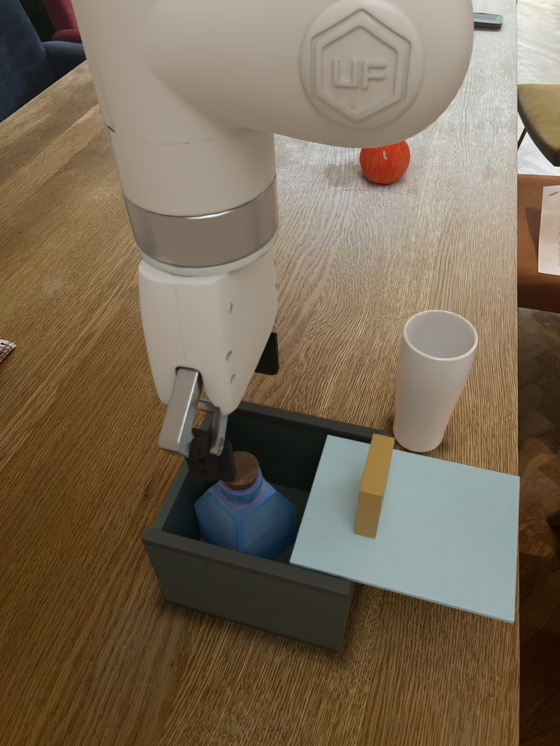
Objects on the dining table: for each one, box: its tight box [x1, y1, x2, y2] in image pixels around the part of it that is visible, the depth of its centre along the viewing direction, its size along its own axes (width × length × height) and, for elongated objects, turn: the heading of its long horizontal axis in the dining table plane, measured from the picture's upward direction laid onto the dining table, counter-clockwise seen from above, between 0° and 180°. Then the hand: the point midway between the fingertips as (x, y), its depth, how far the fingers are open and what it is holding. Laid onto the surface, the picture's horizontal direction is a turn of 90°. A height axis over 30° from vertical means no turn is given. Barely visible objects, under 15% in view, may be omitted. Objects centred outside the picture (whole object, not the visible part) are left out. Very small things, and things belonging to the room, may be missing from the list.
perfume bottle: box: [194, 451, 296, 561], centre depth 53 cm, size 6×6×12 cm
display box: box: [140, 400, 385, 654], centre depth 53 cm, size 16×15×12 cm
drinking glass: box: [392, 309, 479, 453], centre depth 60 cm, size 7×7×15 cm
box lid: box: [290, 434, 521, 624], centre depth 44 cm, size 16×12×6 cm
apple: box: [358, 140, 411, 185], centre depth 98 cm, size 8×8×8 cm
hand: (237, 418), depth 44 cm, fingers open, 9 cm apart
